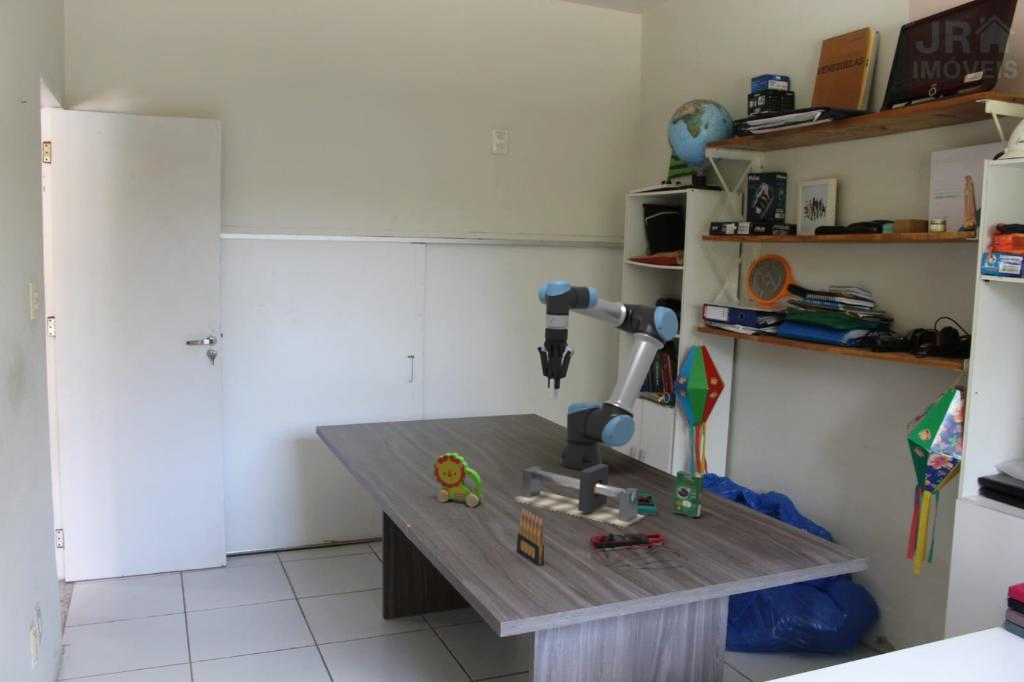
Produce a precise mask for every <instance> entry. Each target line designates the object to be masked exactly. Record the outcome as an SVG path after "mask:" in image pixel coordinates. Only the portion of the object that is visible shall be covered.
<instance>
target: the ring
mask: <svg viewBox="0 0 1024 682" xmlns="http://www.w3.org/2000/svg"><path fill="white" fill-rule="evenodd" d="M609 467H610V465H609V464H605V463H602V464H601V463H600V464H597V465H595V466H592V467H590V468H587V469H584V470H579V473H580V474H579V475H580V476H579V479H580V489H578V490H579V492H578V500H579V508H578V511H583V512H590V511H592V510H594V509H596V508H598V507H600V506H605V505H606V504H607V502H608V496H606V495H602V494H594V483H595V482H599V483H600V484H603V485H608V486H609V469H610V468H609Z"/></svg>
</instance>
